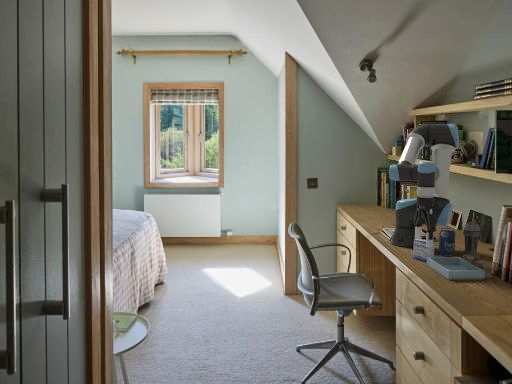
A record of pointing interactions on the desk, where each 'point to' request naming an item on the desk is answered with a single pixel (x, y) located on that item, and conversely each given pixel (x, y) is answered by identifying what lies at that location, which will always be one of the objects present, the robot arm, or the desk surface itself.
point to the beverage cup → (471, 237)
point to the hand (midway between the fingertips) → (423, 243)
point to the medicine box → (422, 250)
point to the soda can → (447, 242)
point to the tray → (455, 268)
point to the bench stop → (479, 263)
